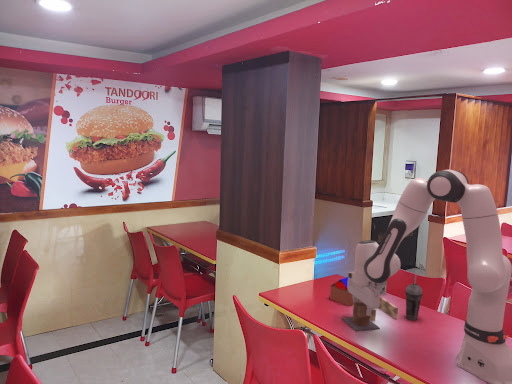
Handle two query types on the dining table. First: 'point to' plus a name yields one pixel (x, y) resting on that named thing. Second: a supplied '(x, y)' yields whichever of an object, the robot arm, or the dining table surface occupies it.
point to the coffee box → (381, 287)
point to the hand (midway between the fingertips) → (361, 310)
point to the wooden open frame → (385, 309)
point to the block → (360, 314)
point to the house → (341, 292)
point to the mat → (360, 328)
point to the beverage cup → (413, 300)
